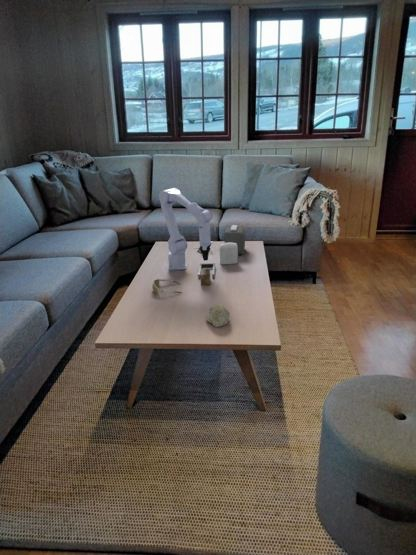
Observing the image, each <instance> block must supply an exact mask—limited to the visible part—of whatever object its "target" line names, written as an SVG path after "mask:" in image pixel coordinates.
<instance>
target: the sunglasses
mask: <svg viewBox="0 0 416 555" xmlns="http://www.w3.org/2000/svg"><path fill="white" fill-rule="evenodd" d="M165 281H166V282H170V283H176V284H178V285H182V283H180V282H179V281H176V280H172V279H161V278H155V279H153V280H152V290H153V293H154V294H155V293H156V294H155V295H156V296H159V295H160V292H161V293H171V294H182V293H183V292H182V291H177V290H176V291H175V290H163V289H162V288H161V289H160V288H159V286H160V284H161V283H160V282H165Z"/></svg>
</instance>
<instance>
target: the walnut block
mask: <svg viewBox="0 0 416 555" xmlns="http://www.w3.org/2000/svg"><path fill="white" fill-rule="evenodd" d="M210 285H211V269H201V276H200V286H206V287H207V286H210Z"/></svg>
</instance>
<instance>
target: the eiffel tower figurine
mask: <svg viewBox="0 0 416 555" xmlns="http://www.w3.org/2000/svg"><path fill="white" fill-rule="evenodd" d="M200 247H201V246H199V247H198V248H195V247H193V250H197V251H196V253H200V254H202V253H201V251H200ZM209 255H211V256H213V255H214V253H213V251H212V250H211V249H210V251H209Z"/></svg>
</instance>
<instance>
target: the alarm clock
mask: <svg viewBox="0 0 416 555" xmlns="http://www.w3.org/2000/svg"><path fill="white" fill-rule="evenodd" d="M223 240H224V243H229V242H231V243H236V244H237V247H238V256H239V255H242V254H243V253H244V252H245V251H244V250H245V246H246V231H245V228H244V226H238V225H237V224H231V226H226V227H225V230H224V239H223Z"/></svg>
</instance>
